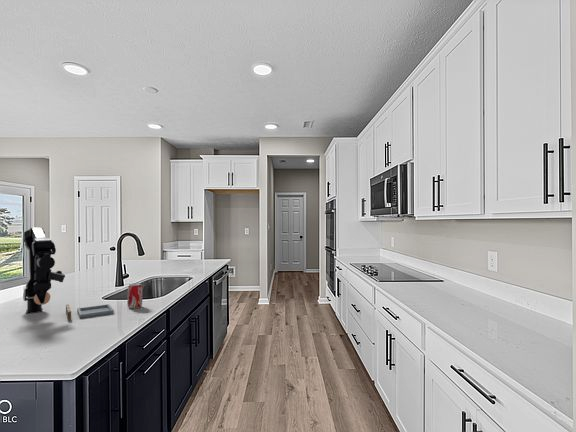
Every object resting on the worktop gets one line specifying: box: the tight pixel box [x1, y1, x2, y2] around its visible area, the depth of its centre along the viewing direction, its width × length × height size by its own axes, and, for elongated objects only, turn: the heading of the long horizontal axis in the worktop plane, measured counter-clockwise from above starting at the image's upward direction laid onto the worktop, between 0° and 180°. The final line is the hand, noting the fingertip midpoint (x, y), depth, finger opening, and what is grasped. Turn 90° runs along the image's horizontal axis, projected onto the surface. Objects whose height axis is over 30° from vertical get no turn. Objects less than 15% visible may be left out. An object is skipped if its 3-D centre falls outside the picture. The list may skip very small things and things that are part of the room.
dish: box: [76, 303, 115, 320], centre depth 165 cm, size 14×14×2 cm
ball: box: [34, 291, 51, 306], centre depth 152 cm, size 6×6×6 cm
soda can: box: [127, 282, 143, 309], centre depth 175 cm, size 7×7×12 cm
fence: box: [65, 304, 72, 322], centre depth 158 cm, size 16×1×4 cm, turn 36°
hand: (42, 301), depth 152 cm, fingers closed on ball, 6 cm apart
